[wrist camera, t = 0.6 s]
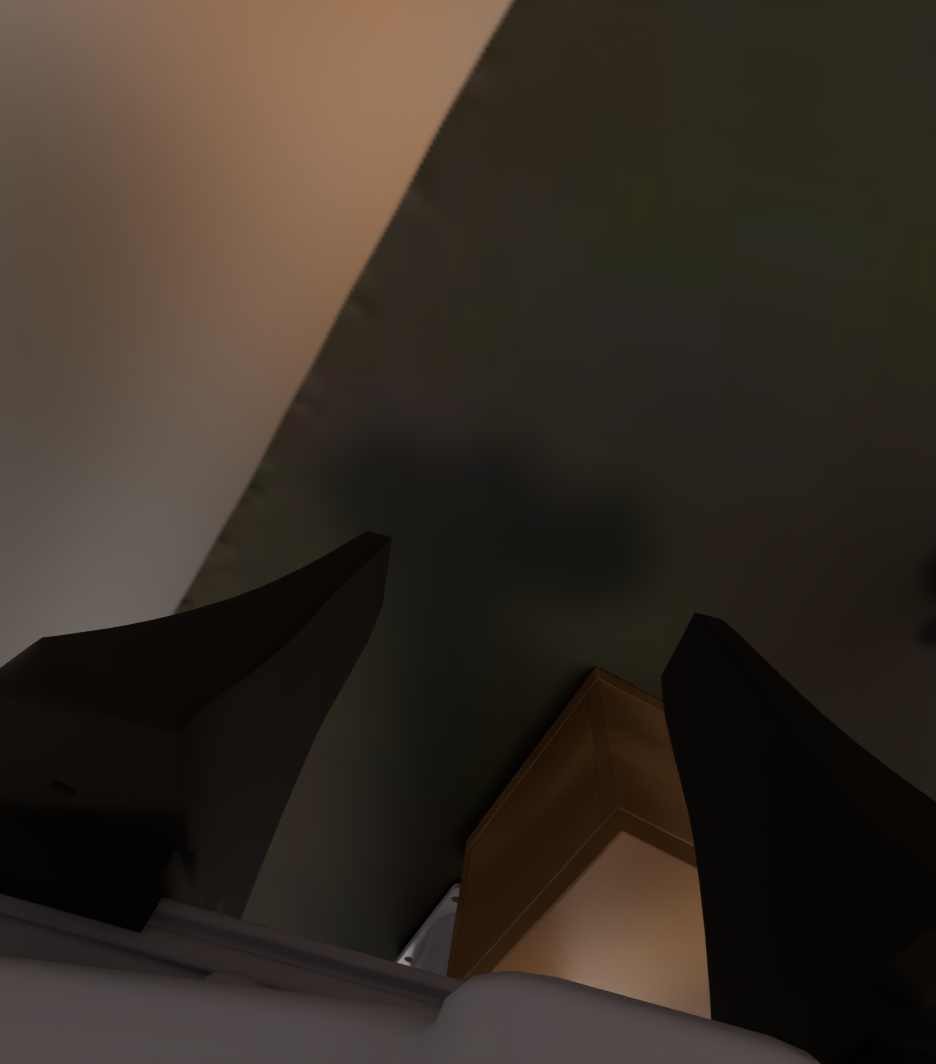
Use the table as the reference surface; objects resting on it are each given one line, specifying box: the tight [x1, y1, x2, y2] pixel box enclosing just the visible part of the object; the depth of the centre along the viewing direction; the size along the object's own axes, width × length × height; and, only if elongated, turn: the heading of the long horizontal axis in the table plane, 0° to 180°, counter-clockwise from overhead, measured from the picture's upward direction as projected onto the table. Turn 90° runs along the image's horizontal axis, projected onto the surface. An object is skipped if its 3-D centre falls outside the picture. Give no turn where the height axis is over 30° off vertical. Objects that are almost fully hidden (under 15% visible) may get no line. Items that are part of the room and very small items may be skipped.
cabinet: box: [446, 667, 711, 1019], centre depth 23 cm, size 16×14×9 cm
